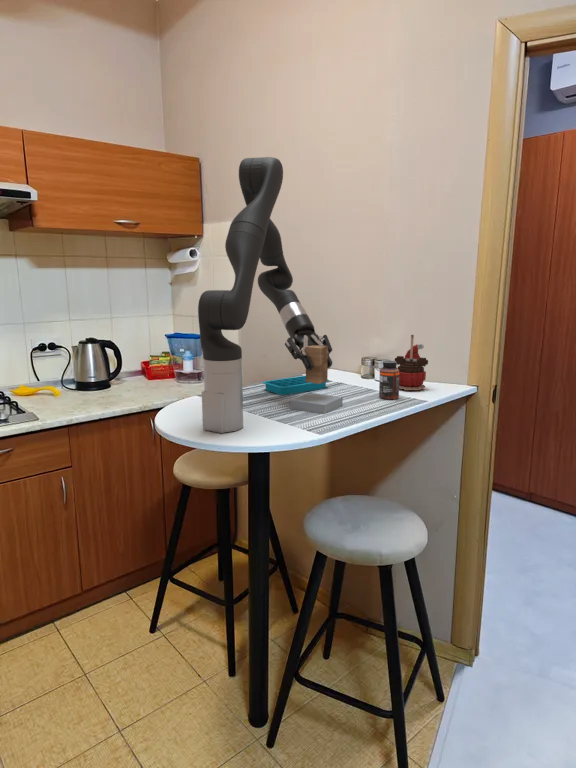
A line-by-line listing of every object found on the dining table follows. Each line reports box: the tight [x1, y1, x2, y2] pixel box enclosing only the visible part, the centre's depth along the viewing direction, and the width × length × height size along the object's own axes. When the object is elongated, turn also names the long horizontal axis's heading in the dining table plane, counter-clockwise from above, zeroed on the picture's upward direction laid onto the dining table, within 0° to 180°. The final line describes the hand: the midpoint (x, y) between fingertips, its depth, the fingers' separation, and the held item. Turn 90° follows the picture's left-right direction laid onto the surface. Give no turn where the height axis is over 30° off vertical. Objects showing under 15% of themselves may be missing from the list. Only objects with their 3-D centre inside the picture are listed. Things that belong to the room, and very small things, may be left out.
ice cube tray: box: [262, 375, 330, 396], centre depth 171 cm, size 12×20×3 cm, turn 127°
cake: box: [394, 334, 429, 391], centre depth 169 cm, size 11×9×18 cm
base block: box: [289, 392, 344, 415], centre depth 147 cm, size 11×11×3 cm
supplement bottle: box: [378, 360, 400, 400], centre depth 157 cm, size 6×6×11 cm
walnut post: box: [305, 345, 329, 384], centre depth 145 cm, size 4×4×10 cm
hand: (320, 367), depth 144 cm, fingers closed on walnut post, 6 cm apart
